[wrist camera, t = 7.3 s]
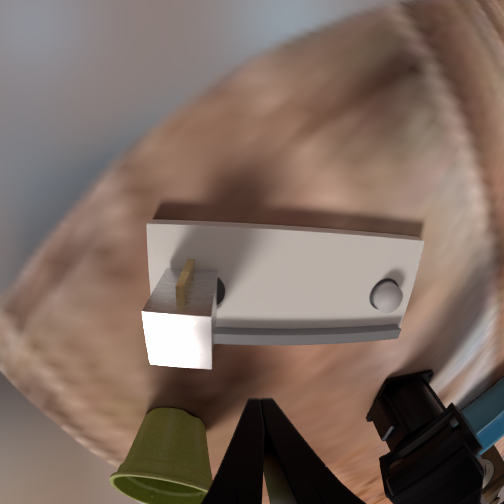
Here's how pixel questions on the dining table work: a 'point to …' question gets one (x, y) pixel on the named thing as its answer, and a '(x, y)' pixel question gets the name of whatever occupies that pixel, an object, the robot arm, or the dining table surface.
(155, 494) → the plant pot
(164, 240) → the plate
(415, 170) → the dining table surface
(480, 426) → the casserole dish
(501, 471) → the wooden container
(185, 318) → the slider
